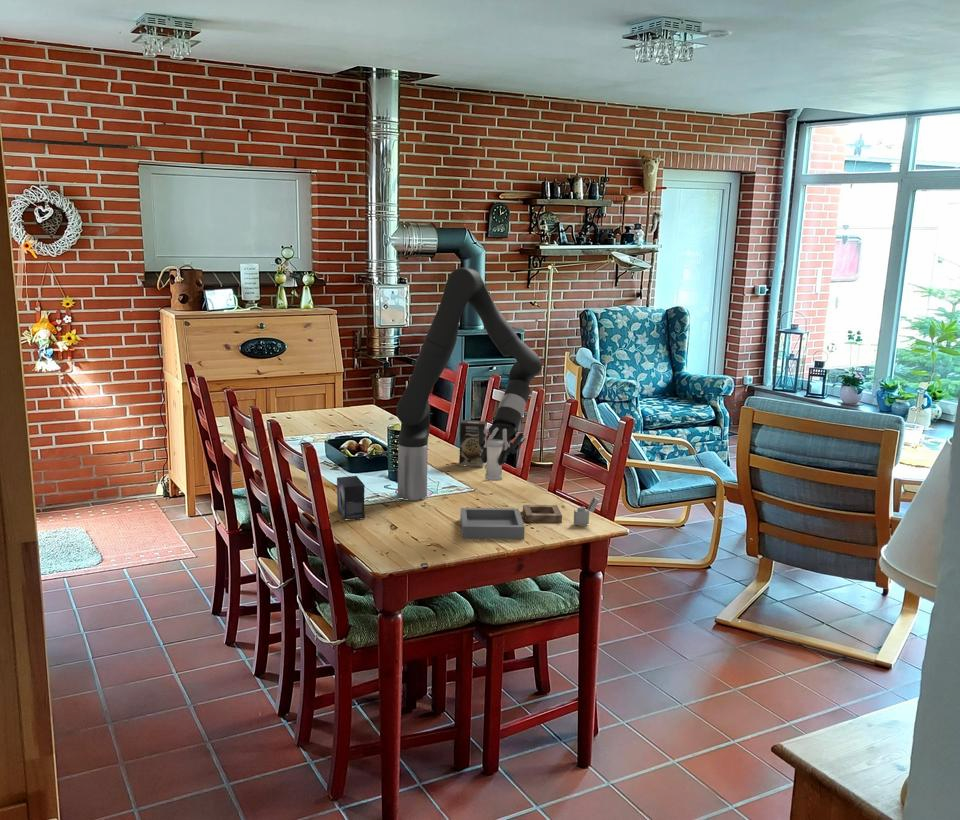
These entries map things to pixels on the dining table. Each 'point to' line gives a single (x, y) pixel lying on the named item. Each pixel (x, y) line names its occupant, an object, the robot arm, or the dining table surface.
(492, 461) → the fuse
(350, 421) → the dining table surface
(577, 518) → the lighter
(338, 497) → the small box
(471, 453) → the coffee box
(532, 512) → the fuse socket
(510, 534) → the parts tray
